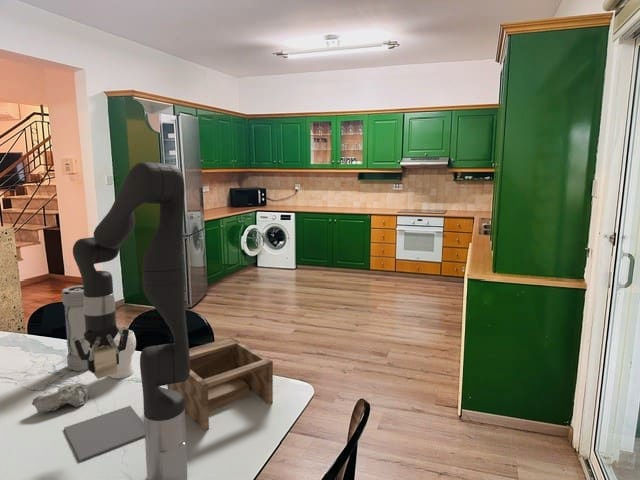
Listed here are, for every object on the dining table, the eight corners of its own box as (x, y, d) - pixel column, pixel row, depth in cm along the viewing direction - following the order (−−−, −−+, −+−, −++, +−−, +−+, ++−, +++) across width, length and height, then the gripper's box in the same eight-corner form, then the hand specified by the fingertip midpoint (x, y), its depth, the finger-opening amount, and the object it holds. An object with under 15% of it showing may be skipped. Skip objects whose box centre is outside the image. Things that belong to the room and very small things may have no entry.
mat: (151, 434, 119) (151, 432, 119) (79, 461, 108) (79, 459, 108) (130, 407, 133) (130, 405, 133) (64, 429, 121) (64, 427, 121)
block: (117, 373, 116) (115, 349, 115) (97, 379, 113) (95, 354, 112) (109, 364, 122) (108, 341, 121) (90, 369, 118) (88, 345, 117)
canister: (61, 369, 157) (54, 290, 152) (83, 358, 167) (78, 284, 162) (82, 373, 154) (76, 293, 149) (104, 361, 164) (99, 286, 159)
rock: (38, 422, 124) (36, 401, 123) (32, 412, 129) (30, 392, 128) (95, 402, 135) (93, 383, 134) (87, 394, 140) (86, 375, 139)
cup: (125, 382, 148) (122, 341, 146) (98, 378, 150) (95, 338, 148) (143, 368, 159) (141, 330, 156) (118, 365, 161) (116, 328, 158)
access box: (272, 402, 137) (272, 361, 135) (203, 430, 121) (202, 385, 119) (231, 373, 156) (231, 337, 154) (167, 394, 141) (166, 354, 138)
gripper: (73, 319, 107) (78, 382, 110) (132, 308, 116) (135, 366, 119) (66, 311, 113) (71, 371, 115) (123, 301, 122) (126, 357, 125)
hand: (103, 368), depth 117 cm, fingers closed on block, 5 cm apart
